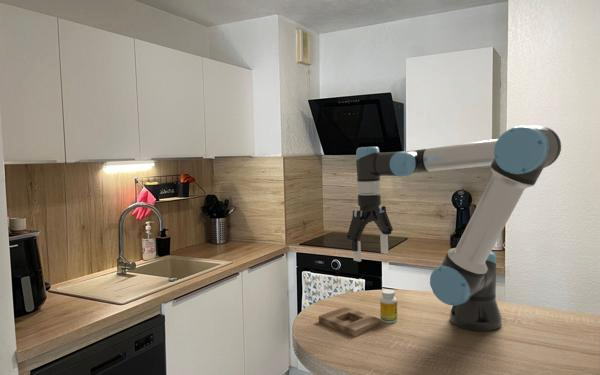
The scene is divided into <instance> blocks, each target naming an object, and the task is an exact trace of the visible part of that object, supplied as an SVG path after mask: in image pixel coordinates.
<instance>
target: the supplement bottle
mask: <svg viewBox="0 0 600 375" xmlns="http://www.w3.org/2000/svg"><path fill="white" fill-rule="evenodd" d="M381 293H382V294H381V295H382V296H381V297H380V299H379V303H380V305H379V306H380V309H379V310H380V311H379V312H380V316H379V317H380V318H379V319H381V322H382V323H386V324H394V323H396V322H397V321H398V299H397V297H395V296H396V292H395V290H393V289H383V290H382V292H381Z"/></svg>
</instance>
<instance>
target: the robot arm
mask: <svg viewBox="0 0 600 375" xmlns="http://www.w3.org/2000/svg"><path fill="white" fill-rule="evenodd" d="M561 152H562V142H561V139H560V137H559V135H558V134H557V132H555V130H553V129H552V128H550V127H547V126H543V125H530V124H529V125H528V124H523V125H518V126H517V125H516V126H514V127H511V128H509V129H507V130H505V131H504V132H503V133H502V134H501V135H500V136H499V137H498V138H495V139H489V140H480V141H474V142H467V143H459V144H453V145H444V146H437V147H431V148H423V149H415V150H414V149H413V150H406V151H405V150H404V151H390V152H389V151H388V152H380V148H379V147H378V146H365V147H364V146H361V147H358V148H357V149H356V152H355V153H356V154H355V165H356V181H357V182H356V183H357V184H356V185H357V186H356V187H357V193H358V195H357V205H358V206H359V210H356V209H354V210H352V218H351V221H350V225H349V228H348V232H347V234H346V240H347V241H350V242H351V251H352V257H353V261H354V262H355V261H356V262H359V263H360V262H362V253H361V252H362V247H361V246H362V245H361V240H360V239H361V236H362V234H363V233H364V232H363V231H364V230H365V228H366V226H367V225H368V224H369V223H372V222H374V223H375V225H376V226H377V227H378V229H379V230H380V232H381V234H379V238H380V254H387V255H388V254H389V241H390V240H389V238H390V237H389V235H391V234H392V232H393V230H394V229H393V226H392V224H391V220H390V217H389V216H388V213H387V207H386V206H385V205H381V204H382V203H381V202H382V201H381V199H382V198H381V197H382V196H381V194H380V193H381V176H382V177H386V176H387V177H408V176H411V175H412V174H419V173H420V174H421V173H426V172H427V173H428V172H436V171H438V172H439V171H448V170H458V169H467V168H478V167H489V168H490V170H491V173H492V175H491V177H490V180H489V182H488V183H487V186H486V187H485V190H484V191H483V193H482V196H481V197H480V200H479V201H478V204H477V205H476V207H475V209H474V212H473V213H472V215H471V217H470V219H469V221H468V223H467V225H466V227H465V229H464V231H463V233H462V235H461V237H460V239H459V241H458V243H457V245H456V247H453V248H449V250H448V251H447V252H446V255H445V257H444V258H443V260H442V262H441V265H440V266H436V268H435V269H434V270H432V272H431V274H430V277H429V285H430V288H431V290H432V293H433V294H434V296H435V297H436V298H437V299H438V300H439V301H440V302H442V303H443V304H445V305H447V306H451V310H450V315H449V316H450V317H449V318H450V322H451V323H452V324H453V325H455V326H457V327H459V328H462V329H465V330H468V331H469V330H470V331H477V332H479V331H480V332H488V331H495V330H498V329H499V328H501V327H502V325H503V324H502V320H503V318H502V315H501V311H500V309H499V305H498V303H497V300H496V299H497V298H496V297H497V296H496V293H497V292H496V290H497V264H498V263H497V256H496V253H495V252H493V249H494V247H495V245H496V244H497V241H498V240H499V238H500V236H501V234H502V233H503V230H504V229H505V226H506V225H507V222H508V221H509V219H510V217H511V216H512V213H513V211H514V210H515V208H516V206H517V205H518V202H519V201H520V199H521V196H522V195H523V193H524V192H525V189H527V188H531V187H534V186H535V184H536V182H537V181H538V179H539V178H540V175H541V174H542V172H543V170H544V169H545V168H547V167H549V166H551V165H552V164H554V163H555V162H556V161H557V160H558V158H559V157H560V155H561ZM359 240H360V241H359Z"/></svg>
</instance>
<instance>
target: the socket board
mask: <svg viewBox="0 0 600 375" xmlns="http://www.w3.org/2000/svg"><path fill="white" fill-rule="evenodd" d="M348 319H350V320H352V322H348V321H345V320H348ZM353 320H354V321H353ZM318 323H321V324H322V325H326V326H327V327H329V328H333V329H335V330H338V331H339V332H343V333H345V334H347V335H350V336H352V337H355V338H356V337H358V336H360V335H364V334H365V333H368V332H369V331H372V330H374V329H377V328H379V327H381V326H382V321H381V318H378V317H376V316H373V315H370V314H369V313H368V314H367V313H365V312H361V311H358V310H355V309H353V308H350V307H347V306H341V307H339V308H337V309H334V310H331V311H329V312H325V313H322V314H321V315H318Z"/></svg>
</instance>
